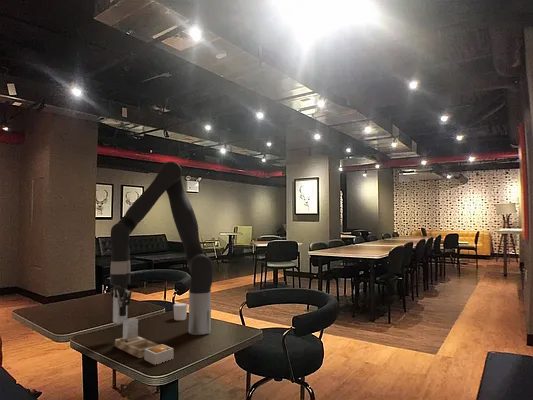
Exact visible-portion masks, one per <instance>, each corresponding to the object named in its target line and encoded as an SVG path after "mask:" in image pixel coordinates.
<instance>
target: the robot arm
mask: <svg viewBox="0 0 533 400" xmlns="http://www.w3.org/2000/svg"><path fill="white" fill-rule="evenodd" d="M182 169H183V168H182V167H181V165H180V164H179V163H177V162H176V161H167V162H165V163H163V164H162V165H161V167H160V168H159V171H158V173H157V174H156V176H155V178H154V179H153V181H152V182H151V183H150V185H148V187H147V188H146V189H145V190H144V191H143V192H142V193H141V195H139V196H138V198H136V199H135V201H134V202H133V203H132V204H131V205H130V207H128V209H127V210H126V211H125V214H124V215H123V216H122V218H121V219H119V221H118V222H117V223H115V224H114V225H112V227H111V228H110V245H111V251H110V254H111V257H110V258H111V259H110V260H111V262H110V271H109V272H110V275H109V277H110V279H109V280H110V282H109V283H110V285H112V286H113V287H111V288H109V293H110V299H111V303H112V304H113V297H118V298H119V301H120V316H125V315H126V306H127V307H128V306H130V303H131V297H132V290H128V285H129V284H131V259H130V258H131V252H130V251H131V250H130V235H131V234H132V233H133V232H134V230H135V229H136V228H137V226H138V225H139V223H140V222H142V220H143V219H144V218H145V217H146V215H148V214H149V212H150V211H151V210H152V209H153V207H154V206H155V204H156V203H157V202H158V200H160V198H161V196H162V195H163V194H164V193H165V192H166V194H167V196H168V197H167V198H168V201H169V206H170V210H171V214H172V219H173V221H174V224H175V227H176V230H177V233H178V236H179V238H180V240H181V242H182V246H183V248H184V253H185V257H186V262H187V267H188V269H189V271H190V284H189V288H188V292H189V293H188V334H189V335H194V336H201V335H207V334H210V333H211V328H212V327H211V326H212V308H211V307H212V305H211V302H212V301H211V296H212V295H211V293H212V290H211V289H212V285H213V270H214V269H213V262H212V259H211V258H210V256H207V255H205V252H204V250H203V247H202V245H201V240H200V235H199V224H198V220H197V217H196V213H195V211H194V208H193V205H192V204H191V202H190V199H189V197H188V196H187V194H186V191H185V190H184V184H183V181H182V175H183V170H182ZM122 297H123V299H121V298H122ZM122 301H123V302H122Z"/></svg>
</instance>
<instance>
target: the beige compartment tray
mask: <svg viewBox="0 0 533 400" xmlns="http://www.w3.org/2000/svg"><path fill="white" fill-rule="evenodd" d="M157 345H160V344H159V343H156V342H154V341H151V340H148V339H146V338H143V337H141V336H139V335H138V340H135V341H132V342H128V343H126V342H124V341H123V337H120V338H116V339H115V341H114V347H116V348H117V349H120V350H121V351H124V352H126V353H128V354H130V355H132V356H134V357H136V358H138V359H141V358H144V352H145V349H147V348H151V347H154V346H157Z"/></svg>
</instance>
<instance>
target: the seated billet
mask: <svg viewBox="0 0 533 400" xmlns="http://www.w3.org/2000/svg"><path fill="white" fill-rule="evenodd" d="M138 336H139V318H136V317H129V318H127V319H124V320H123V323H122V338H123V341H124V342H126V343H128V342H132V341H135V340H138Z"/></svg>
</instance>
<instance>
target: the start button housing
mask: <svg viewBox="0 0 533 400" xmlns="http://www.w3.org/2000/svg"><path fill="white" fill-rule="evenodd" d="M159 345H164V346H166V347H167V350H165V351H162V352H159V353H154V352H152V347H151V348H147V349H145V352H144V357H143V358H144V361H146V362H148V363H150V364H153V365H154V366H156V364H157V365H159V364H163V363H166V362H168V360H169V361H171V359H172V360H174V350H175V349H174V347H170V346H168V345H166V344H163V343H161V344H159ZM159 345H157V346H159ZM165 361H166V362H165ZM162 362H163V363H162Z"/></svg>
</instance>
